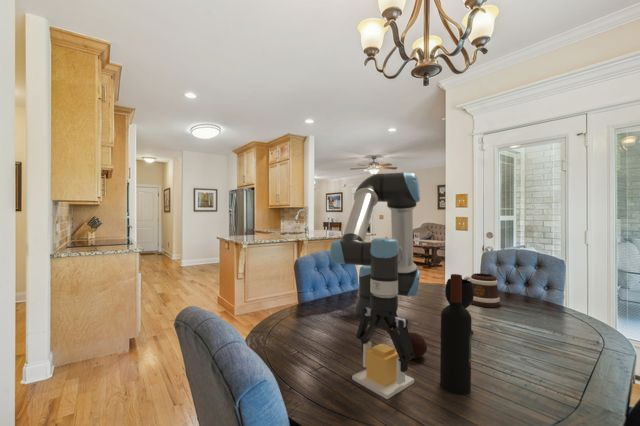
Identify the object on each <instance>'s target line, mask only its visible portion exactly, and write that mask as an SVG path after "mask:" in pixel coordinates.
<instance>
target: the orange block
mask: <svg viewBox="0 0 640 426" xmlns="http://www.w3.org/2000/svg"><path fill="white" fill-rule="evenodd" d="M397 358H399V356H398V353H397V351H396V349H395V347H393V346H389V345H387V344H385V343H379V344H377V345H374V346H371V350H369V351H367V367H365V369H366V377H368V378H370V379H371V380H373V381H375V382H377V383H379V384H381V385H382V386H384V387H386V386H387V385H389V384H391V383H393V382H394V381H396V380H397Z"/></svg>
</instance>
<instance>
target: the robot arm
mask: <svg viewBox="0 0 640 426" xmlns="http://www.w3.org/2000/svg"><path fill="white" fill-rule="evenodd" d="M420 191H421V190H420V184H419V179H418V176H417V174H416V173H414V172H405V171H404V172H389V173H376V174H372V175H370V176H369V177H367V178H366V179H365V180H363V181H362V182H360V184H359V185H358V186H357V188H356V190H355V191H354V194H353V195H354V196H353V201H354V203H353V205H352V208H351V211H350V213H349V217H348V219H347V223H346V225H345V228H344V231H343V234H342V237H341V240H340V239H338V240H333V241H332V242H331V245H330V249H329V250H330V251H329V254H330V260H331V261H332V262H333V263H334V264H338V265H352V266H353V265H354V266H360V267H359V270H358V271H359V272H358V299H357V302H356V305H355V308H354V315H355V317H356V318H358V319H360V321H359V325H358V329H357V332H356V335H355V336H356V337H355V338H356V339H357V340H360V343H361V353H362V367H363V368H367V351H369V350H371V349H372V341H371V338H372V336H373V335H374V334H375V332H376V331H377V329H380V328H381V329H382V330H385V331H386V334H387V335H389V337H390V340H391V342H392V344H393V346H394V348H395V351H396V352H397V353H398V356H399V358H397V382H396V384H398V385H400V384H402V383H403V382H405V375H406V372H407V371H408V369H409V368H408V361H410V360H412V359H413V358H414V357H415V354H414V350H413V347H412V343H411V339H410V335H409V333H410V332H409V328H408V323H409V322H408V318H406V317H405V318H401V317H399V316H398V314H397V311H398V308H399V305H398V304H399V297H398V296H405V297H416V296H417V295H418V292H419V291H418V290H419V286H420V278H421V277H420V276H421V270H420V269H418V267H417V264H416V263H415V262H414V235H413V233H414V232H413V231H414V228H413V227H414V225H413V221H414V218H413V217H414V216H413V214H414V213H413V210H414V209H415V208H416V207H417V203H419V202H420V201H421V193H420ZM379 202H380V203H382V202H384V203H386V204H387V205H386V207H387V208H388V209H389V210H390V213H391V214H390V219H391V220H390V221H391V222H390V223H391V238H388V237H376V238H373V239H371V241H365V239H366V236H367V232H368V229H369V224H370V221H371V217H372V214H373V210H374V207H375V206H376V205H377V203H379ZM414 359H415V358H414Z"/></svg>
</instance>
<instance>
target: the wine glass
mask: <svg viewBox="0 0 640 426" xmlns="http://www.w3.org/2000/svg"><path fill="white" fill-rule="evenodd" d="M444 289H445V290H444V295H445V299H446V301H447V302H448V305H449V304H450V301H451V278H447V280H446V284H445V288H444ZM473 298H474V291H473V286H472V282H471V281H470V280H465V279H464V278H462V306H463V307H464V308H465V309H466V310H467V308H468V307H470V305H472V304H471V303H472V301H473ZM473 334H474V331H473V330H472V329H471V336H473Z"/></svg>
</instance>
